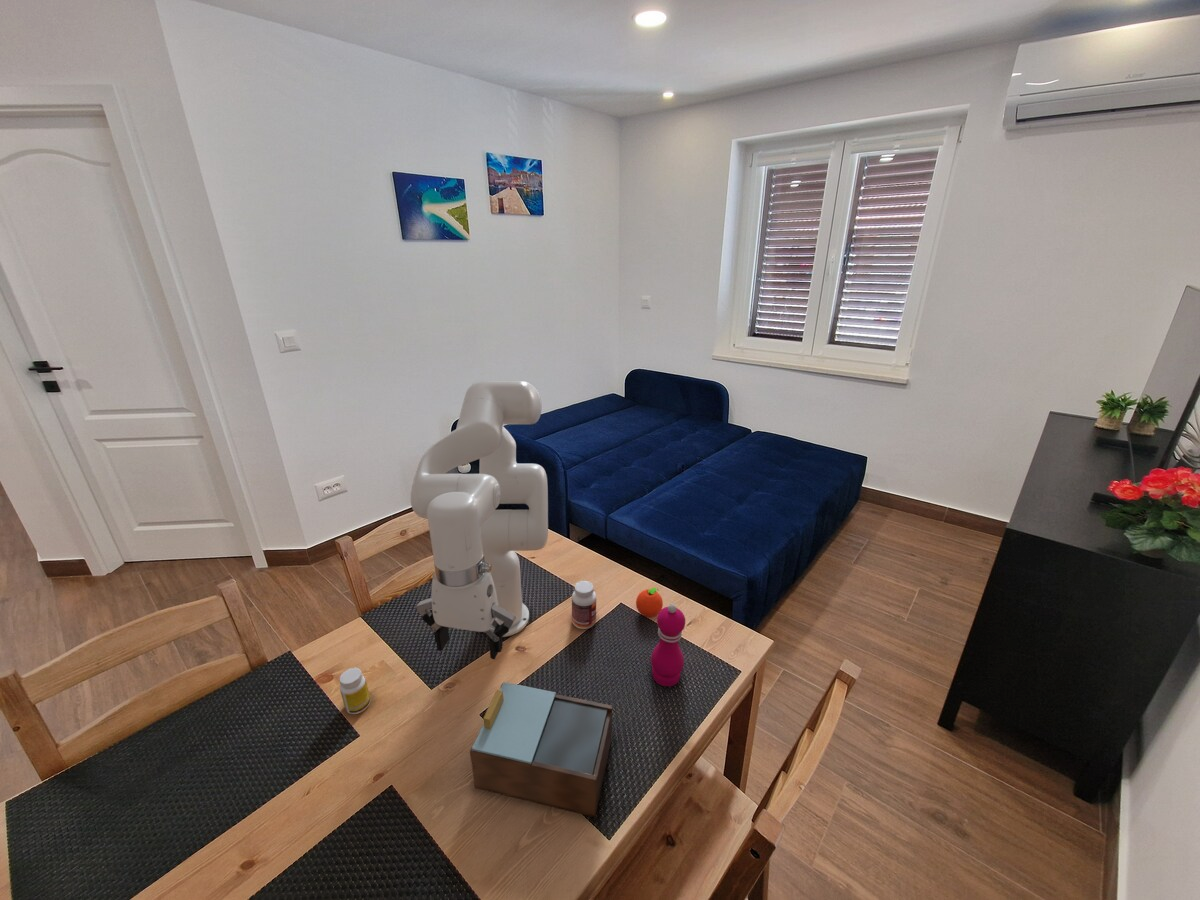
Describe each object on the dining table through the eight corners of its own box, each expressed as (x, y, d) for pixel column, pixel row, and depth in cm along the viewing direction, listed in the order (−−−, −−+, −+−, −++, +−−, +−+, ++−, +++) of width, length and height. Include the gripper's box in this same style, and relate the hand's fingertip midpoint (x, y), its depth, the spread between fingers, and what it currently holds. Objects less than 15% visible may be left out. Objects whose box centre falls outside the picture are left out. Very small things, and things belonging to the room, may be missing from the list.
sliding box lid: (471, 750, 82) (470, 738, 81) (503, 683, 94) (502, 672, 93) (531, 764, 80) (530, 752, 79) (555, 694, 92) (555, 682, 91)
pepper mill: (681, 691, 105) (689, 620, 97) (648, 685, 106) (653, 614, 98) (682, 665, 111) (690, 596, 103) (651, 659, 113) (656, 591, 105)
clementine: (646, 598, 132) (647, 577, 129) (668, 609, 128) (670, 587, 125) (630, 615, 126) (631, 593, 123) (653, 627, 122) (655, 605, 119)
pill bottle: (596, 630, 121) (597, 595, 117) (571, 630, 121) (571, 595, 116) (595, 612, 127) (596, 578, 122) (572, 612, 126) (571, 578, 122)
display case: (474, 787, 86) (469, 750, 82) (505, 718, 99) (502, 683, 95) (595, 817, 82) (595, 780, 78) (611, 741, 94) (612, 705, 90)
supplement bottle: (375, 700, 102) (368, 671, 99) (357, 718, 98) (348, 688, 95) (359, 691, 104) (351, 662, 100) (340, 709, 100) (331, 680, 96)
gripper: (519, 560, 80) (524, 640, 86) (422, 548, 82) (434, 626, 89) (502, 589, 73) (509, 673, 79) (397, 574, 76) (412, 658, 82)
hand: (469, 648), depth 84 cm, fingers open, 9 cm apart
